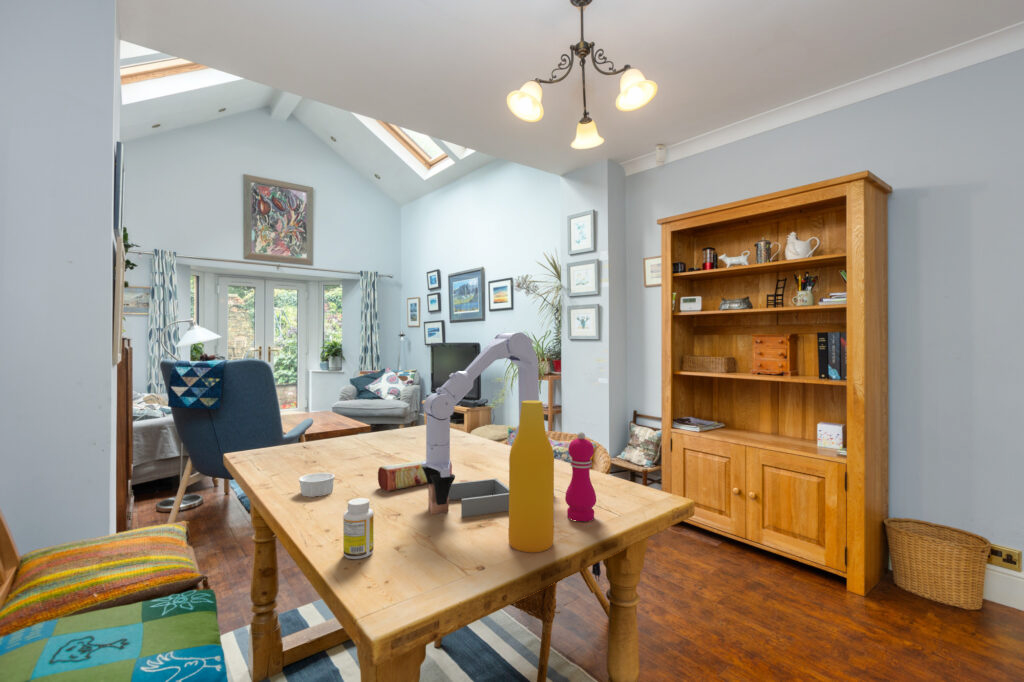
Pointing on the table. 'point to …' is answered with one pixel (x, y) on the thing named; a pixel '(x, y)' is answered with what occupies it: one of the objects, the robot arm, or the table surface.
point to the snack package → (402, 475)
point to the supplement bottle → (358, 529)
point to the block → (433, 504)
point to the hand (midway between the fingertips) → (437, 499)
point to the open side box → (482, 503)
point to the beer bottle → (531, 483)
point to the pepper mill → (580, 481)
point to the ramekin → (316, 484)
